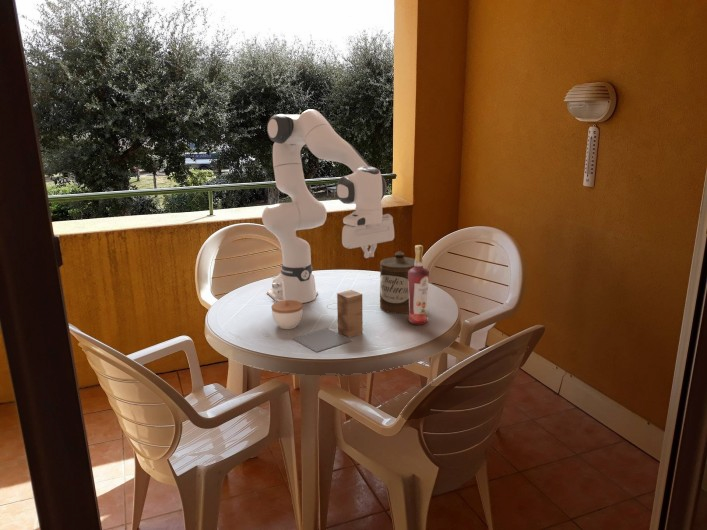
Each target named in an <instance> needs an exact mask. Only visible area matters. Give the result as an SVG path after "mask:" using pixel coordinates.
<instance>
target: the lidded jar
mask: <svg viewBox="0 0 707 530" xmlns="http://www.w3.org/2000/svg"><path fill="white" fill-rule="evenodd" d="M271 312H272V313H271V314H272V319H273V321H274V323H275V324H276V325H277V327H279V328H280V329H283V330H291V329H294V328H296V327H297V326H298V325H299V323H300V322H301V321H302V317H303V303H301V302H298V301H294V300H284V301H279V302H276V301H275V302H274V303H273V304H272V305H271Z"/></svg>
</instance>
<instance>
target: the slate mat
mask: <svg viewBox="0 0 707 530" xmlns="http://www.w3.org/2000/svg"><path fill="white" fill-rule="evenodd" d="M292 340H293V341H295V342H298V343H299V344H301V345H303V346H304V347H305V348H308V349H310V350H311V351H313V352H315V353H319V352H322V351H325V350H329V349H331V348H336V347H337V346H341V345H344V344H347V343H350V342H352V341H353V340H351V339H350V338H348V337H346V336H344V335H342V334H340V333H338V332H337V331H334V330H332V329H330V328H328V327H325V328H322V329H319V330H315V331H312V332H308V333H305V334H302V335H297V336H295V337H292Z"/></svg>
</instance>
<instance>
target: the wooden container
mask: <svg viewBox="0 0 707 530" xmlns="http://www.w3.org/2000/svg"><path fill="white" fill-rule="evenodd" d="M394 256H395V257H394ZM394 256H393V257H387V258H383V259H381V260H380V262H379V269H380V270H379V271H380V272H379V273H380V274H379V275H380V276H379V278H380V279H379V308H380V310H382V311H383V312H386V313H390V314H396V315H397V314H399V315H400V314H401V315H402V314H403V315H404V314H409V290H408V271H409V270H410V269H411V268H414V265H415V258H412V257H408V256H407V257H406V256H405V253H404V252H402V251H397V252H395V253H394Z"/></svg>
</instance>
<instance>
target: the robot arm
mask: <svg viewBox="0 0 707 530" xmlns="http://www.w3.org/2000/svg"><path fill="white" fill-rule="evenodd" d="M266 132H267V136H268V138H269V139H270V140H271V141H272V142H274V143H273V145H272V165H273V167H272V168H273V173H274V179H275V187H276V188H277V189H278V191H280V192H281V193H283V194H285V195H288V196H289V197H290V199H291V201H290V202H280V203H275V204H271V205H268V206H266V207H265V208H264V209H263V211H262V216H261V220H262V221H261V222H262V224H263V226H264V228H265V229H266V230H268V232H270V233H271V234H273V235H274V236H275V237H276V239H277V240H278V242H279V244H280V247H281V248H280V249H281V255H282V263H281V264H280V266H279V268H280V273H279V274H278V275H277V276H276V277H274V278H273V280H272V284H271V287H272V288H270V289H268V290H266V294H267V295H268V296H269V297H271V298H272V299H273V300H274V301H275V303H276V302H279V301H284V300H294V301H298V302H301V303H302V304H304V303H308V302H309V303H310V302H311V301H315V299H316V298H317V295H318V294H319V291H318V290H317V289H316V282H315V281H316V280H315V275H314V274H313V264H312V263H311V261H312V259H311V256H312V255H311V245H310V243H309V242H308V241H307V240H305V239H303V238H300V237H298V236H297V231H301V230H311V229H314V228H319V227H320V226H321V227H322V226H323V225H324V224H325V222H326V220H327V217H328V216H327V215H328V214H327V212H328V211H327V209H326V207H325V205H324V204H323V203H322V202H321V201H319V200H318V199H317V198H316V197H314V196H313V194H312V193H311V192H310V190H309V188H308V187H307V184H306V179H305V175H304V169H303V162H302V157H301V150H302V148H304V149H308V150H309V151H310V153H311V154H312V155H314V157H316V158H317V159H320V160H325V161H331V162H336V163H340V164H343V165H345V166H347V167H348V168H349V169H350V170H351V171H352V173H351V174H348V175H343V176H342V177H340V178H339V179H338V180H337V183H336V186H335V193H336V197H337V198H338V200H339V201H340V202H341V203H342V204H346V205H354V204H355V210H354V211H353V212H352V213H349V214H348V215H345V216H344V217H343V219H342V222H343V224H344V225H343V226H342V230H341V231H342V232H341V244H342V246H343V247H344V248H346V249H349V250H351V249H357V248H361V250H362V251H363V257H364V258H365V259H369V258H374V257H375V252H376V249H377V247H378V244H382V243H386V242H393V240H394V239H395V227H394V226H395V225H394V218H393V216H392V215H391V214H390V213H385V214H383V204H382V200H383V199H384V197H385V195H386V193H387V190H388V189H387V188H388V186H387V182H386V179H385V178H384V176H382V173H381V170H380V169H379V168H378V167H377V168H376V167H373V166H371V165H370V163H369V162H367V160H366V159H365V158H364V157H363V156H362V155H361V153H360V152H359V151H358V150H357V149H356V148H355V147H354V145H352V144H351V143H350V142H348V141H346V140H345V139H343V138H342V137H341V136H340V135H339V134H338V133H337V132H336V131H335V130H334V128H333V127H332V125H331V124H330V122H329V121H328V120H327V119H326V118H325V116H324V115H323V114H322V113H320V111H318V110H316V109H314V108H313V109H310V108H309V109H306V110H305V111H303V112H301V114H298V113H295V114H294V113H293V114H290V113H289V114H284V113H279V114H278V113H277V114H274V115H272V116H271V117H270V118H269V119H268V121H267V125H266ZM369 246H370V248H369Z"/></svg>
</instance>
